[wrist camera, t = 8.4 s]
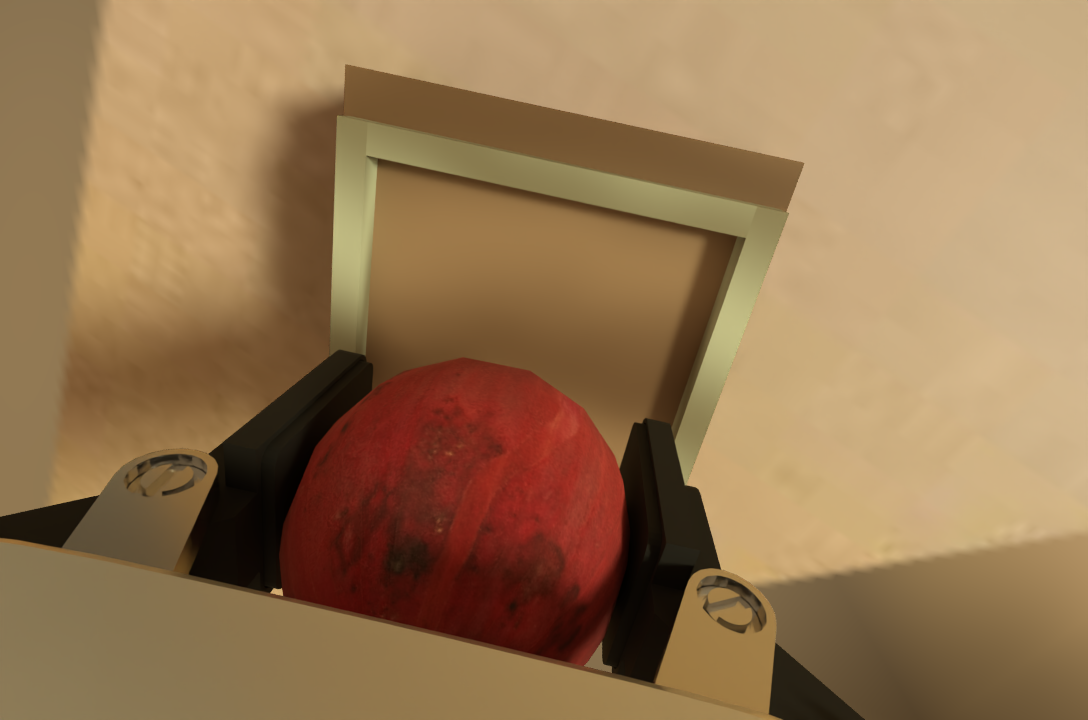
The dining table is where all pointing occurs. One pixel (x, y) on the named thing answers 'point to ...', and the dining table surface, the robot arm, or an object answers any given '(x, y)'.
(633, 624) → the robot arm
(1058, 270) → the dining table surface
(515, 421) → the onion
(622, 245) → the plinth
